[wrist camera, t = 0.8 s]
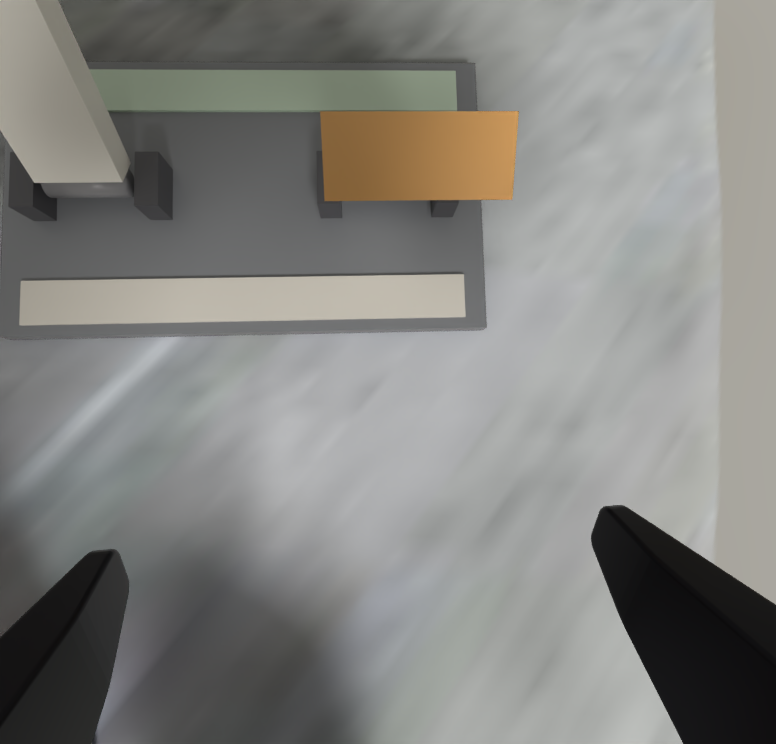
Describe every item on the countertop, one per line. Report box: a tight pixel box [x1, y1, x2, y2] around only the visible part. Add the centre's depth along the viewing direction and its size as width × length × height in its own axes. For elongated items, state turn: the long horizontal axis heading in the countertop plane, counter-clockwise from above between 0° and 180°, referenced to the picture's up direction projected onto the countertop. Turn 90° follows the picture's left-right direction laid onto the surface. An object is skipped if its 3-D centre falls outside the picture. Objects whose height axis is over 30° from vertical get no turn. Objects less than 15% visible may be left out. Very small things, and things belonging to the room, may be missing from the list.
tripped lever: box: [320, 111, 519, 201], centre depth 16 cm, size 2×4×14 cm, turn 91°
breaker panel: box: [0, 61, 487, 340], centre depth 22 cm, size 13×22×2 cm, turn 92°
